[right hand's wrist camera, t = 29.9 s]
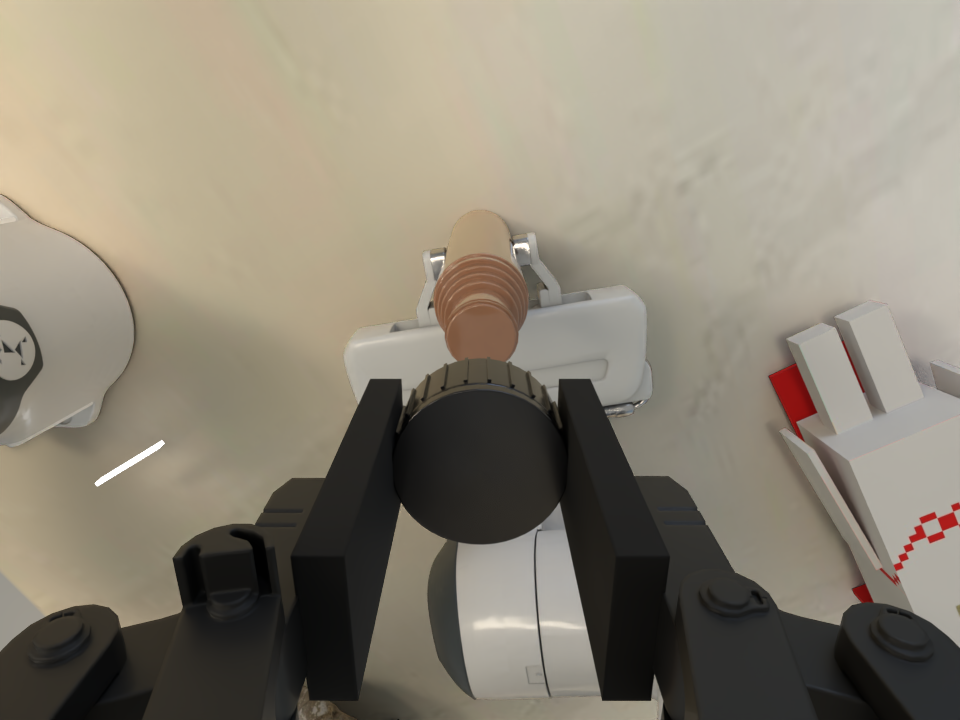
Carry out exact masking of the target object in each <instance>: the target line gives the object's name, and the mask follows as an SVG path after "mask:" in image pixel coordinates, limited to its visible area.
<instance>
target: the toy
mask: <svg viewBox="0 0 960 720" xmlns="http://www.w3.org/2000/svg"><path fill="white" fill-rule="evenodd" d="M834 318H835V321H836V323H837V326H838V328H839V331H840V333H841V335H842V338H843V340H844V341H841V340H840V337H839V335H838V332H837V330H836V328H835V327H832V326H829V325H826V324H823V323H819V324H817V325H815V326H813V327H810V328H808V329H806V330H804V331H802V332H800V333H797V334H795V335H793V336H791V337H789V338H787V339H786V341H787V343H788V345H789V348H790V350H791V352H792V355H793V357H794V359H795V362H796V363H795V364H793V365H791V366H789V367H787V368H785V369H783V370H780V371H778V372H776V373H774V374H772V375H770V376H769V378H770V380H771V382H772V384H773V386H774V389H775V391H776V393H777V395H778V397H779V399H780V401H781V403H782V405H783V407H784V409H785V411H786V413H787V416H788V418H789V420H790V422H791V424H792V426H793V428H794V430H795V432H796V434H797V436H798V437H797V436H796V435H794V434H793V433H792V432H791V431H789V430H788V429H787V428H783V429H782V430H780V431H779V432H780V434H781V435H782V437H783V439H784V440H785V442H786V444H787V445H788V447H789V449H790V450H791V452H792V454H793V455H794V457H795V459H796V460H797V462H798V464H799V465H800V467H801V469H802V471H803V472H804V474H805V476H806V477H807V479H808V481H809V482H810V484H811V486H812V487H813V489H814V491H815V492H816V494H817V496H818V497H819V499H820V501H821V502H822V504H823V506H824V507H825V509H826V511H827V512H828V514H829V516H830V517H831V519H832V521H833V522H834V524H835V526H836V527H837V529H838V531H839V532H840V534H841V536H842V537H843V539H844V540H845V541H846V542H847V543H848V545H849V547H850V549H851V552H852V554H853V556H854V559H855V561H856V563H857V565H858V568H859V570H860V572H861V574H862V577H863V579H864V581H865V583H866V584H864V585H862V586H859V587H856V588H854V589H852V590H853V592H854V594H855V595H856V596H857V598H858V599H859V600H860V601H861V602H862V603H865V602H872V603H882V604H889V605H892V606H895V607H898V608H901V609H904V610H908V611H910V612H912V613H914V614H916V615H918V616H920V617H922V618H923V619H925V620H927V621H929V622H931V623H932V624H933V625H935V626H936V627H937V628H938V629H940V630H941V631H942V632H944V633H945V634H946V635H947V636H949V637H950V638H951V639H952V640H953V641H954V642H955V643H956V644H957V645H958V646H959V647H960V368H957V367H955V366H952V365H950V364H947V363H945V362H942V361H939V360H935V361H932V362H930V365H931V368H932V372H933V376H934V380H935V383H936V387H937V389H935V388H932V387H930V386H928V385H925V384H923V383H920V382H918V380H917V378H916V375H915V373H914V370H913V368H912V365H911V363H910V360H909V358H908V355H907V353H906V350H905V347H904V345H903V342H902V340H901V337H900V335H899V332H898V330H897V327H896V325H895V322H894V320H893V317H892V315H891V312H890V310H889V307H888V304H885V303H880V302H876V301H872V300H869V301H867V302H865V303H863V304H861V305H858V306H856V307H854V308H852V309H850V310H847V311H845V312H843V313H841V314H839V315H837V316H834Z"/></svg>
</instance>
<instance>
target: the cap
mask: <svg viewBox="0 0 960 720" xmlns="http://www.w3.org/2000/svg"><path fill="white" fill-rule="evenodd" d="M563 430H564V428H563V425H562V421H561V418H560V414H559V411H558V407H557V404H556V402H555V401H554V402H553V401H552V399H551V397H550V395H549V394H548V392H547V388H546V386H545V385H541V384H540V383H539V382H538V381H537V380H536V379H535V378H534V377H533V376H532V375H531V372H530V371H527V372H526V371H524V370H522V369H521V368H519V367H517V366H514V365H512V362H510V361H509V362H508V363H506V362H503V361H500V360H493V359H491V358H490V357H487V359H485V358H476V359H468V357H467V358H465V360H462V361H457V362H454V363H451V364H447V363H445V364H444V366H443V367H442V368H440V369H438V370H436V371H435V372H433V373H432V374H430V375H429V374H427V375H426V376H425V379H424V380H423V381H422V382H421V383H420V384H419V385H418V386H417V388H416V389H414V388H413V389H412V390H411V394H410V398H409V400H408V402H407V404H406V406H404V405H403V407H402V411H401V414H400V418H399V422H398V425H397V429H396V432H395V435H397V439H396V442H395V446H394V450H393V454H392V463H393V480H394V487H395V490H396V493H397V495H398V497H399V499H400V501H401V503H402V504H403V506H404V507H405V509H406V510H407V512H408V513H409V514H410V515H411V516H412V517H413V518H414V519H415V520H416V521H417V522H418V523H419V524H421V525H422V526H423V527H425V528H426V529H428V530H429V531H431V532H433V533H435V534H436V535H438V536H440V537H443V538H446V539H448V540H451V541H455V542H459V543H465V544H474V545H486V544H496V543H501V542H506V541H509V540H512V539H515V538H517V537H520V536H522V535H524V534H526V533H528V532H530V531H531V530H533V529H535V528H536V527H537V526H539V525H540V524H541V523H542V522H544V521H545V520H546V519H547V518H548V517H549V516H550V515H551V513H552V512H553V511H554V509H555V508H556V507H557V505H558V503H559V502H560V500H561V498H562V496H563V494H564V491H565V489H566V485H567V470H568V451H567V447H566V443H565V440H564V436H563V433H562V431H563Z"/></svg>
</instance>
